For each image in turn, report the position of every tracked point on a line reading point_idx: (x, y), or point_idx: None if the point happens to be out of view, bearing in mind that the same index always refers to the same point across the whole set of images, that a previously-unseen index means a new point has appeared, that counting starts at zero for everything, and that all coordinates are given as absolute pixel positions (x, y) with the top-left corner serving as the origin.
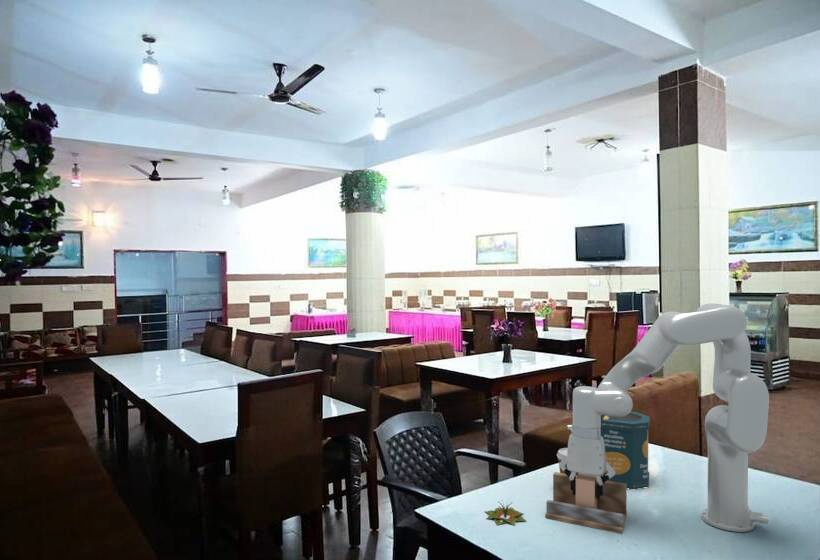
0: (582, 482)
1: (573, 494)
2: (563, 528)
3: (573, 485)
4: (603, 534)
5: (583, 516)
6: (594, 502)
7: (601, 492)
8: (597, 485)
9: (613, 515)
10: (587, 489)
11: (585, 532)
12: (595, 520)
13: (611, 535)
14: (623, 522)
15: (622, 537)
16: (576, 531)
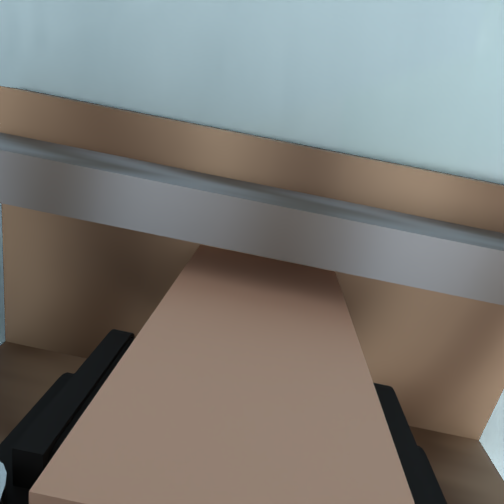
0: (288, 487)
1: (381, 385)
2: (446, 43)
3: (415, 472)
4: (139, 32)
5: (280, 192)
6: (167, 297)
7: (51, 391)
8: (35, 448)
9: (9, 151)
10: (214, 388)
11: (272, 23)
12: (188, 172)
13: (83, 34)
14: (4, 222)
15: (7, 24)
16: (343, 18)
